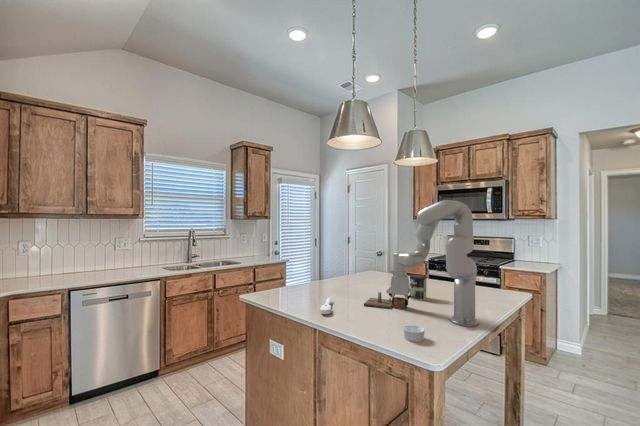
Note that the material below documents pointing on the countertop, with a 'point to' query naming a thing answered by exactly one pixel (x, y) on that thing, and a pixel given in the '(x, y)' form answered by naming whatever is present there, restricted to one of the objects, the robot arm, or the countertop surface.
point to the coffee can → (418, 286)
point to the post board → (379, 302)
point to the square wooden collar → (399, 303)
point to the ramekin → (413, 333)
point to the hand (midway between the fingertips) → (400, 305)
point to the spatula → (326, 307)
